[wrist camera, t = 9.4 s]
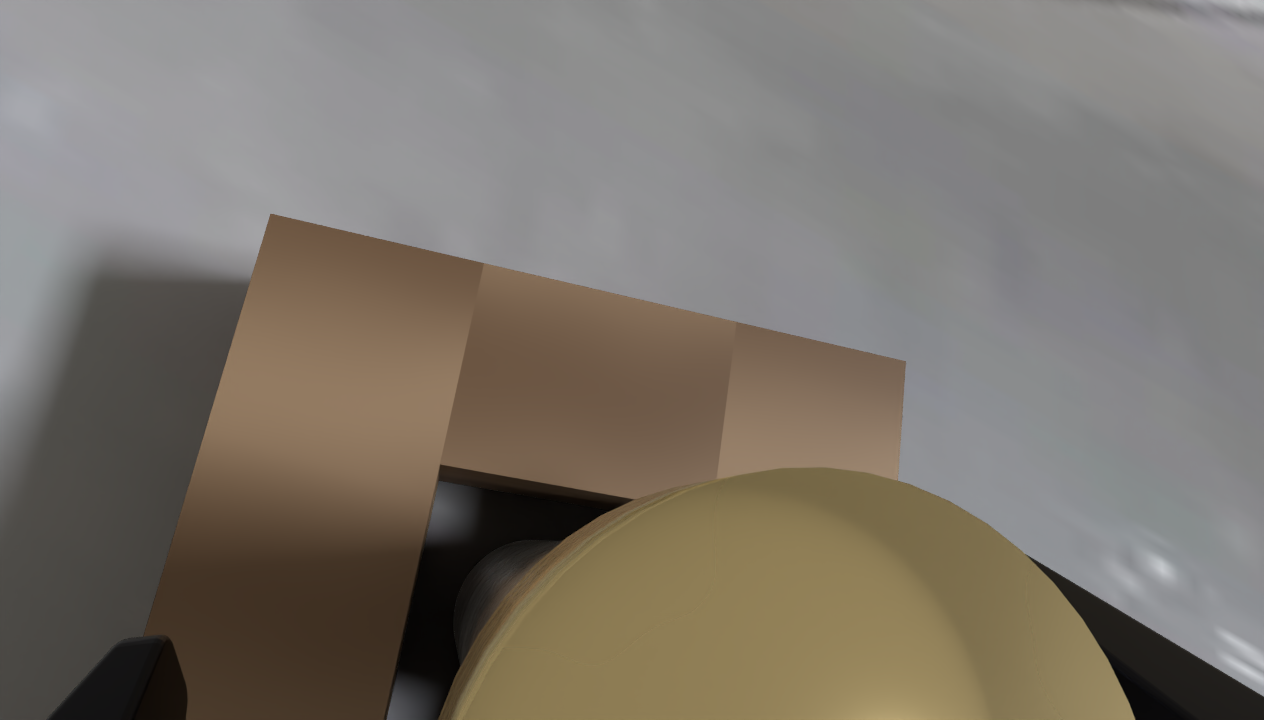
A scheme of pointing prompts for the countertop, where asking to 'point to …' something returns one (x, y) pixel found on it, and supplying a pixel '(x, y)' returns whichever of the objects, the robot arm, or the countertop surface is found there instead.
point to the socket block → (452, 445)
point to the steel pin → (775, 613)
